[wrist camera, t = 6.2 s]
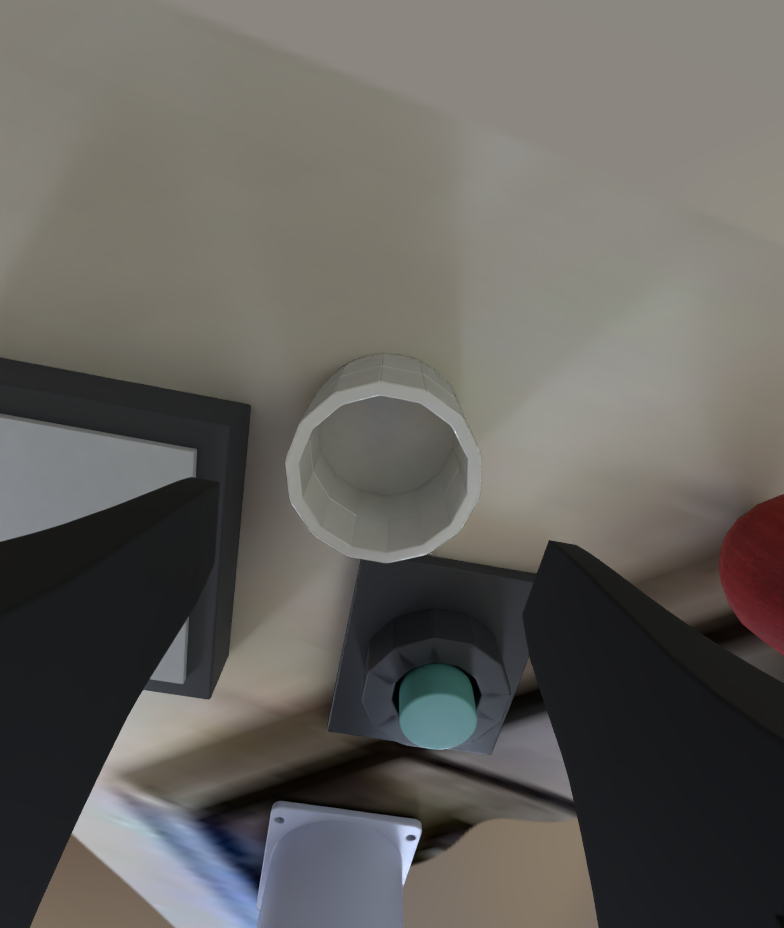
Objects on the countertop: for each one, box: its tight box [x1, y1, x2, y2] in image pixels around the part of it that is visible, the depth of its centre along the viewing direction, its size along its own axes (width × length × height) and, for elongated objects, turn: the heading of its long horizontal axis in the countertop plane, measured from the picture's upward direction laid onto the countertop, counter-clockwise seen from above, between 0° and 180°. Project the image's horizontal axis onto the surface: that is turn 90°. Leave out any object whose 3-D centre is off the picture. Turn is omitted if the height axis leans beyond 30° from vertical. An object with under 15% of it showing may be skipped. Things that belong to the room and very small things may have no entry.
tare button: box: [399, 663, 477, 749], centre depth 20 cm, size 3×3×2 cm
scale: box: [0, 358, 251, 699], centre depth 19 cm, size 12×10×3 cm
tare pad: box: [327, 555, 537, 755], centre depth 21 cm, size 10×8×2 cm
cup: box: [285, 354, 482, 563], centre depth 16 cm, size 6×6×4 cm
